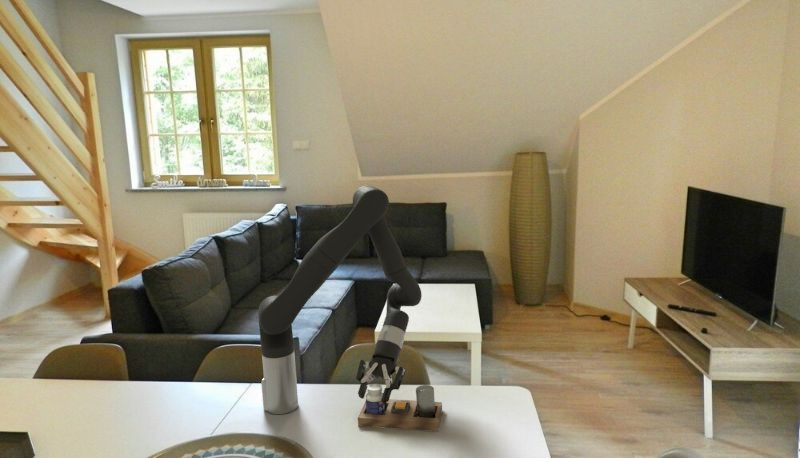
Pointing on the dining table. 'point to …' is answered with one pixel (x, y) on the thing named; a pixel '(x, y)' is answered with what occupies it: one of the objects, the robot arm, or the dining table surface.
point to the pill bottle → (375, 400)
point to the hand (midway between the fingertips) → (372, 399)
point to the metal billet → (425, 401)
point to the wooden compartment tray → (401, 417)
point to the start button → (400, 405)
